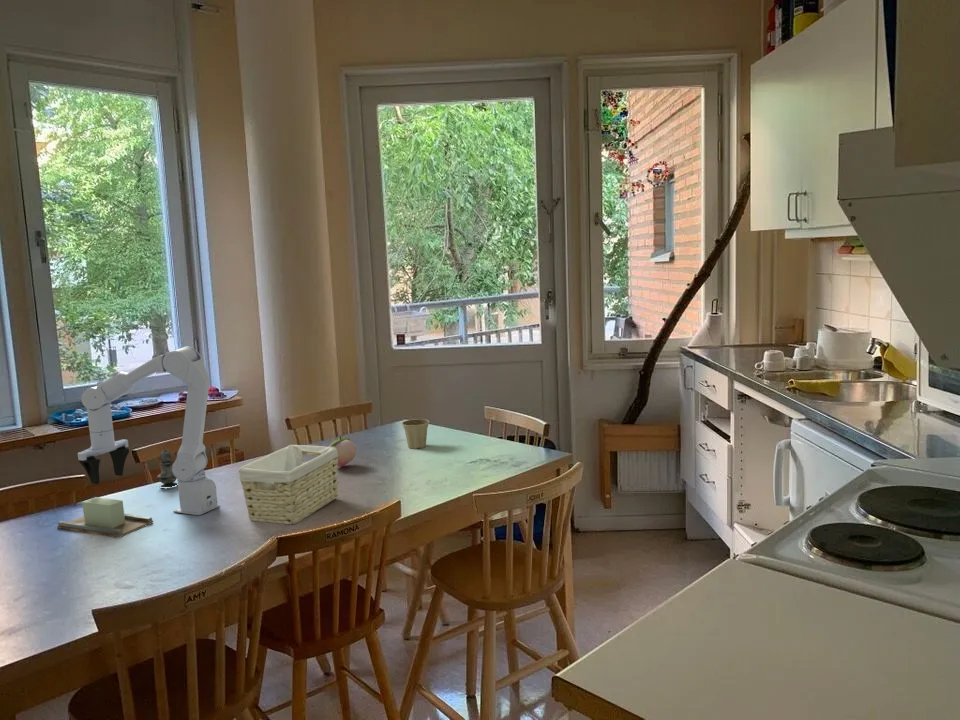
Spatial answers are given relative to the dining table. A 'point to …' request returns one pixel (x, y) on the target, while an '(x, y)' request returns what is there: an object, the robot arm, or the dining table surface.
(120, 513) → the pale green block
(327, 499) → the storage basket
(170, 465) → the grey tall carved piece
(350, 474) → the dining table surface
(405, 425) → the flower pot
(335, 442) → the decorative fruit
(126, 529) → the floor track
